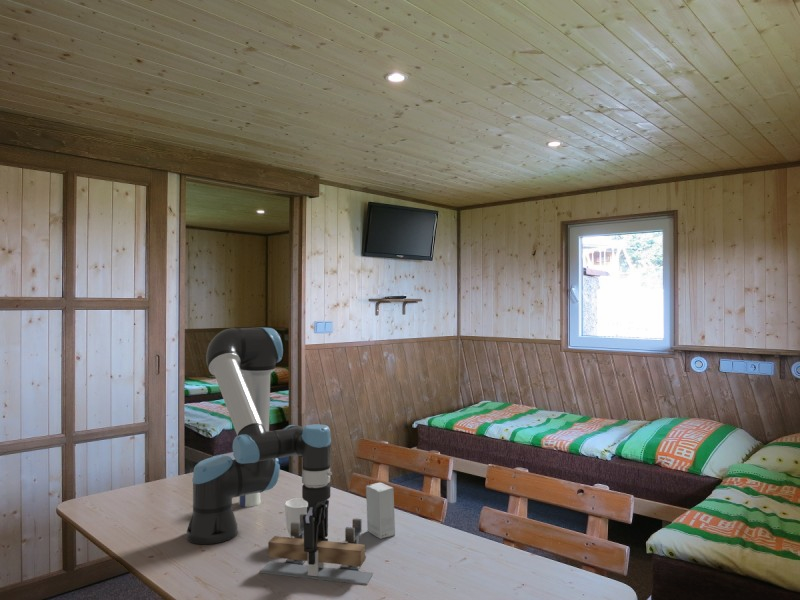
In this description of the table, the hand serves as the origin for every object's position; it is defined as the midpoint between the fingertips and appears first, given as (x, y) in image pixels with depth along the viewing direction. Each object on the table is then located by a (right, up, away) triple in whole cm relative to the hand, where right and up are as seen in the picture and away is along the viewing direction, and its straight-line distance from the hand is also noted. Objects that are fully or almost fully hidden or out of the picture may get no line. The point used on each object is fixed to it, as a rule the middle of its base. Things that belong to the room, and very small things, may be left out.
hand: (316, 570), depth 153 cm
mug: (-7, -1, +22) cm, 23 cm away
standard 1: (-6, -1, +10) cm, 11 cm away
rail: (0, +3, 0) cm, 3 cm away
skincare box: (+16, -1, +27) cm, 32 cm away
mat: (0, -1, 0) cm, 1 cm away
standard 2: (+10, -1, +6) cm, 11 cm away
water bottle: (-32, -1, +54) cm, 63 cm away
